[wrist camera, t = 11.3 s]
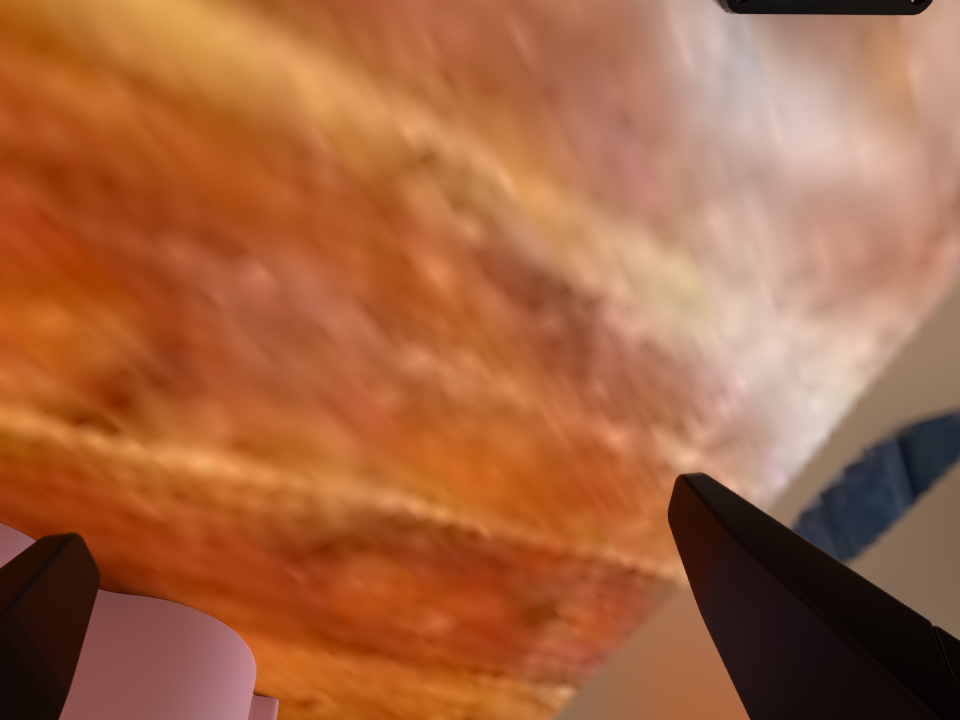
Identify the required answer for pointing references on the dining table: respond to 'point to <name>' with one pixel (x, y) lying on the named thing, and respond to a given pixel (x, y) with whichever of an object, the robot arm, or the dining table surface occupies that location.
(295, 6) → the dining table surface
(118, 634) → the clip
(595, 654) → the dining table surface
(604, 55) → the dining table surface
